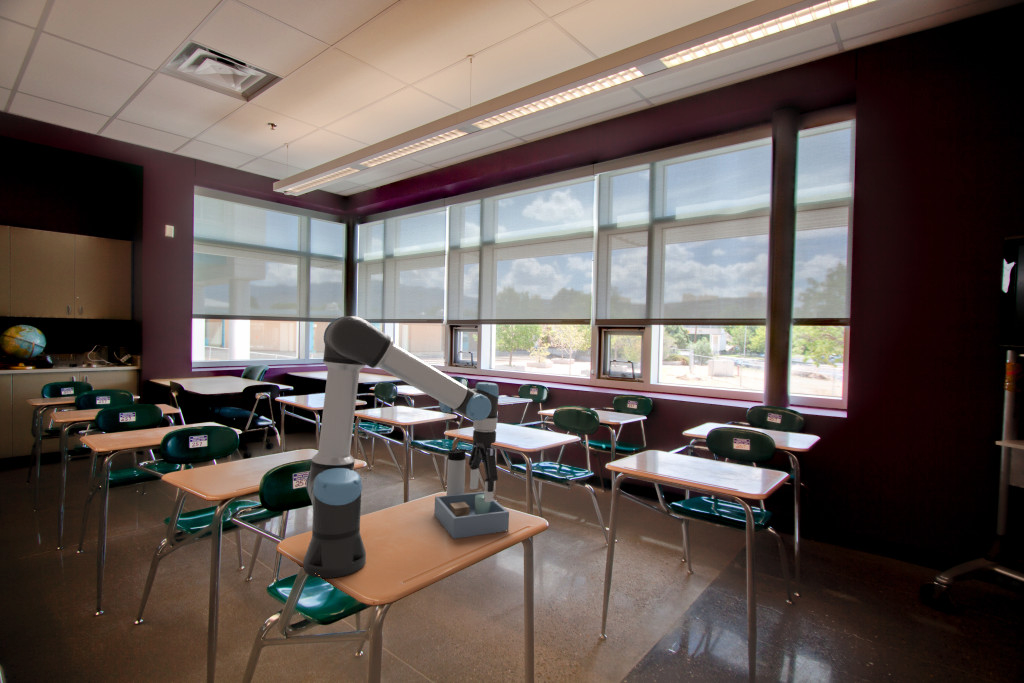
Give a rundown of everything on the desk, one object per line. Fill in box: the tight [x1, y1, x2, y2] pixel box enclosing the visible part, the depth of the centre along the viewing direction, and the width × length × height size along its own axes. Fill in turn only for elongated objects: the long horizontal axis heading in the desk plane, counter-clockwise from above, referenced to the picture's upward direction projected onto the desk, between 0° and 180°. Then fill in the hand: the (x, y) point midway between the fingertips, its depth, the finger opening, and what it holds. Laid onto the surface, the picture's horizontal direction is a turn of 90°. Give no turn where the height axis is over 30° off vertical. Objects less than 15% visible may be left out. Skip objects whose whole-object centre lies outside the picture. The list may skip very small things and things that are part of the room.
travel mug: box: [446, 448, 468, 496], centre depth 174 cm, size 6×7×20 cm
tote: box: [433, 491, 510, 539], centre depth 159 cm, size 18×21×6 cm
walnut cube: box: [450, 502, 470, 517], centre depth 157 cm, size 5×5×5 cm
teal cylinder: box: [475, 494, 490, 515], centre depth 160 cm, size 5×5×7 cm
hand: (480, 494), depth 160 cm, fingers open, 13 cm apart
